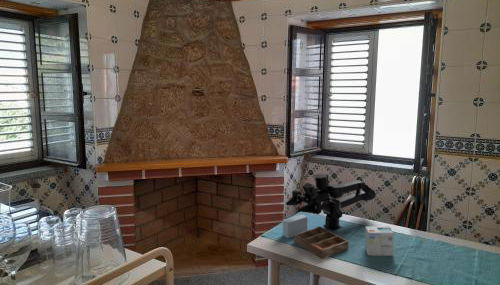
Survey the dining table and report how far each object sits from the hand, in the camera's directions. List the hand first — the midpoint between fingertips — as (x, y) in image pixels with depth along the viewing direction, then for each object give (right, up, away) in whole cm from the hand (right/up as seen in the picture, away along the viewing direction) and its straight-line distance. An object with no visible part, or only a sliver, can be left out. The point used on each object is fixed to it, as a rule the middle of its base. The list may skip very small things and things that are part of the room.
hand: (292, 207), depth 165 cm
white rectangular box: (+3, -15, +10) cm, 18 cm away
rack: (+13, -17, -3) cm, 21 cm away
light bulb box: (+36, -18, -10) cm, 42 cm away
